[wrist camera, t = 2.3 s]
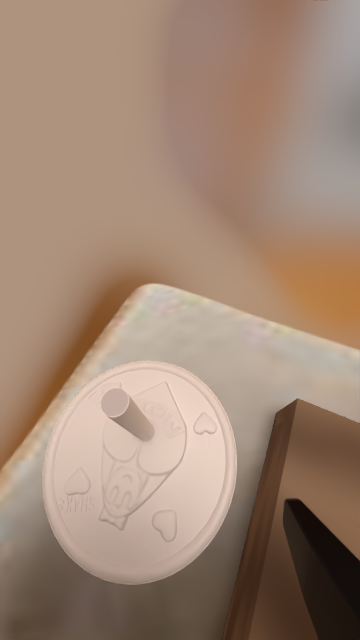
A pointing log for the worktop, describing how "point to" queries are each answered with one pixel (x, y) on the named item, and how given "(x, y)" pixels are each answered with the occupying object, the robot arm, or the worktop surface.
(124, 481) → the smoothie
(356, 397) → the worktop surface
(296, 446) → the walnut box
